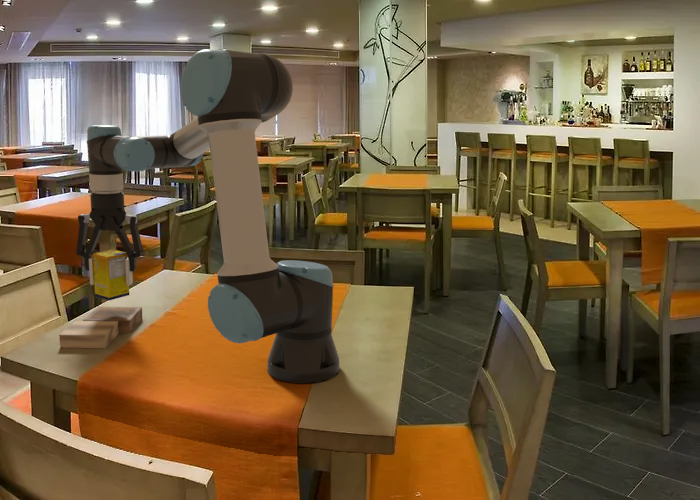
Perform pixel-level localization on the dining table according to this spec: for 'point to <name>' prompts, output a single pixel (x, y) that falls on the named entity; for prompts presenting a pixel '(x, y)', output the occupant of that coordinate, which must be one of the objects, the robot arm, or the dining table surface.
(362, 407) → the dining table surface
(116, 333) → the oak stand
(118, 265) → the supplement box
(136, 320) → the walnut stand
